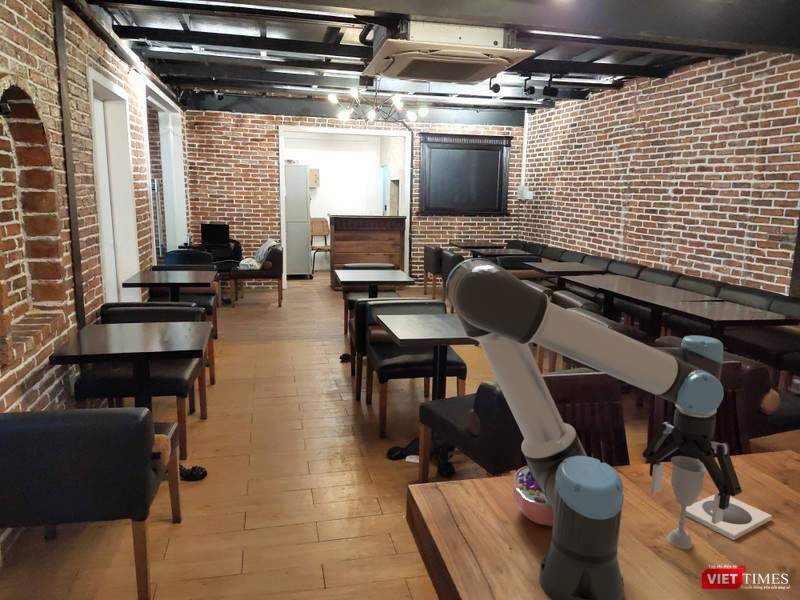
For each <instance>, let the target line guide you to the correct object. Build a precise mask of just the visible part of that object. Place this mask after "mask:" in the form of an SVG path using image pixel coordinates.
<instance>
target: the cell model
mask: <svg viewBox="0 0 800 600" xmlns="http://www.w3.org/2000/svg"><path fill="white" fill-rule="evenodd" d="M512 480H513V481H512V496H513V501H514V502H515V505H516V506H517V507H518V508H519V511H521V512H522V514H523V515H524V516H525V517H526V518H527V519H528V520H530V521H532V522H534V523H535V524H537V525H541V526H542V525H543V526H548V527H552V528H553V509H552V507H551V505H550V504H549V502H548V500H547V499H546V497H545V495H544V493H543V492H542V490H541V488H540V487H539V485H538V483H537V482H536V481H535V480H534V478H533V477H532V475H531V473H530V471H529V467H528V465H525V466H522V467H521V468H519V469H518V470H517V471H515V472H514V474H513V479H512Z"/></svg>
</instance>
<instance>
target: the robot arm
mask: <svg viewBox="0 0 800 600" xmlns="http://www.w3.org/2000/svg"><path fill="white" fill-rule="evenodd" d="M445 286H446V287H445V289H446V290H445V293H446V298H447V300H448V302H449V304H450V305H451V306H452V307H453V309H454V310H455V311H454V312H456V315H457V317H458V319H459V321H460V323H461V325H462V327H463V329H464V330H463V331H465V334H466V336H467V338H469V339H471V340H475V341H477V342H478V343H479V345H480V347H481V349H482V352H483V354H484V355H485V359H486V360H487V363H488V365H489V366H490V369H491V370H492V373H493V376H494V378H495V379H496V381H497V383H498V385H499V387H500V390H501V392H502V395H503V396H504V398H505V400H506V403H507V404H508V407H509V409H510V411H511V413H512V415H513V417H514V419H515V421H516V424H517V425H518V427H519V430H520V433H521V434H522V437H523V438H524V439H523V440H522V443H521V452H522V454H523V456H524V458H525V460H526V462H527V466H528V467H529V471H530V473H531V475H532V477H533V478H534V480H535V481H536V482H537V483H538V485H539V487H540V488H541V490H542V492H543V493H544V495H545V497H546V499H547V500H548V502H549V504H550V505H551V507H552V509H553V527H552V532H551V541H550V543H549V545H548V547H547V549H546V551H545V553H544V555H543V557H542V560H541V562H540V566H539V576H538V577H539V578H538V579H539V580H538V581H539V584H540V586H541V587H542V590H543V591H544V592H545V594H546V595H547V596H549V598H551V599H552V600H624V594H625V593H624V592H625V582H624V578H623V576H622V573H621V569H620V562H619V559H618V548H619V547H618V546H619V538H620V529H621V520H622V510H623V506H624V499H625V498H624V484H623V479H622V478H621V476H620V474H619V472H618V471H616V470H615V468H614V467H612V466H611V465H610V464H608V463H606V462H601V460H600V459H598V458H595V457H591V456H588V455H587V453H586V450H585V449H584V447H583V445H582V442H581V441H580V438H579V436H578V434H577V432H576V429H575V428H574V427H573V425H571V424H569V423H565V422H564V421H563V419H562V417H561V415H560V413H559V410H558V408H557V405H556V404H555V401H554V399H553V397H552V395H551V393H550V390H549V388H548V386H547V384H546V381H545V379H544V377H543V375H542V373H541V371H540V369H539V366H538V364H537V362H536V360H535V358H534V355H533V353H532V351H531V348H530V347H529V344H531V343H534V344H536V345H539V346H541V347H543V348H546V349H548V350H550V351H553V352H555V353H558V354H559V355H562V356H564V357H567V358H569V359H571V360H573V361H576V362H578V363H581V364H583V365H586V366H588V367H590V368H592V369H595V370H597V371H600V372H602V373H603V374H607V375H608V376H612V377H613V378H615V379H618V380H621V381H623V382H625V383H626V384H627V385H632V386H634V387H636V388H639V389H642V390H644V391H646V392H649V393H652V394H653V395H655V396H657V397H659V398H662V399H664V400H666V401H668V402H671V403H673V404H675V407H676V408H675V409H674V416H673V425H672V424H671V422H670V421H664V422H662V423H659V425H658V430H657V433H656V434H655V435H654V437H653V438H652V439H651V441H650V442H649V443H648V445H647V447H645V449H644V451H643V452H642V454H641V455H642V457H643V458H645V459H648V461H649V476H650V477H651V486H650V493H652V494H653V495H654V494H657V493H659V492H662V486H663V477H664V468H665V467H664V465H665V463H664V462H661V461H663V460H664V459H665V458H667V457H669V456H670V455H671V454H672V453H674V452H676V451H677V450H678V449H679V450H680V452H682V453H685V454H689V455H690V456H692V457H693V458H696V457H697V458H698V460H699V461H700V462H702V463H703V464H704V466H705V468H706V472H707V473H708V475H709V477H710V479H711V480H712V483H714V486H715V487H716V489H717V491H716V492H714V494H715V496H714V505H713V513H712V521H711V522H712V523H714V524H716V523H718V522H720V521H722V520H723V513H724V510H725V509H727V508H728V507H729V501H730V497H736V496H738V495H740V494H741V493H742V492H743V490H742V488H741V484H740V482H739V478H738V476H737V473H736V470H735V466H734V465H733V460H732V458H731V455H730V444H729V443H728V442H723V443H720V442H716V441H715V440H714V434H715V430H716V429H715V428H716V420H717V416H716V414H717V409H718V408H719V406H720V404H722V401H723V398H724V386H723V385H722V382H721V379H722V378H721V376H722V369H723V364H724V344H723V343H722V341H720V340H719V339H717V338H715V337H710V336H705V335H687V336H686V335H685V336H684V337H683V338H682V341H681V344H680V346H676V347H675V346H674V347H673V346H672V347H669V346H668V347H666V346H665V347H663V346H661V347H659V346H658V347H656V346H654V347H653V346H650V345H647V344H646V343H643V342H641V341H639V340H636V339H634V338H632V337H629V336H627V335H625V334H623V333H620V332H618V331H616V330H614V329H612V328H609V327H606V326H605V325H602V324H600V323H598V322H596V321H593V320H592V319H589V318H586V317H584V316H583V315H580V314H577V313H576V312H573V311H571V310H568V309H566V308H564V307H561V306H559V305H558V304H555V303H553V302H551V300H550V298H549V296H548V294H547V293H545V292H542V291H540V290H538V289H536V288H534V287H532V286H530V285H528V284H527V283H525V282H524V281H522V280H521V279H519V278H518V277H516V276H515V275H514V274H512V273H511V272H510V271H508V270H506V269H505V268H504V267H502V266H499V265H498V264H496V263H495V262H493V261H491V260H488V259H486V258H481V257H478V258H477V257H476V258H469V259H466V260H463V261H462V262H459V263H458V264H456V265H455V266H454V267H453V269H452V270H451V271H450V273H449V275H448V276H447V280H446V285H445ZM670 434H671V435H672V437H673V438H674V441H672V442H671V443H669V444H668V445H667V446H666V447H664V448H663V449H661V450H660V451H658V449H659V448H660V446H661V445H662V444H663V442H664V441H665V440H666V439H667V437H668V435H670ZM712 449H713V451H714V452H713V451H712ZM657 451H658V452H657ZM656 452H657V453H656ZM655 453H656V454H655ZM715 454H716V457H715ZM715 458H716V459H715ZM716 460H717V461H716Z"/></svg>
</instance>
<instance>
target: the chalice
mask: <svg viewBox="0 0 800 600" xmlns="http://www.w3.org/2000/svg"><path fill="white" fill-rule="evenodd" d="M670 461H671V464H672V470H671V471H672V472H671V479H670V483H671V487H672V492H673V494H674V497H675V500H676V502H677V503H678V504H679V505H681V508H680V510H679V511H678V513H679V518H677V522H678V524H679V526H678V527H675V528H673V529H672V530H671V531H670V532H669V535H667V536H666V540H667V543H669V544H670V545H671V546H673V547H675V548H678V549H682V550H690V549H692V548H693V546H694V544H693V543H692V539H691V535H690V533H689V532H688V531H687V530H685V524H687V520H686V517H687V516H686V515H687V513H686V507H687V506H691V505H692V504H694V503H695V502H696V500H697V499H698V498H699V496H700V494H701V493H702V491H703V487H704V480H705V479H704V477H705V473H706V472H707V470H706V468H705V466H704V464H703V463H702V462H700V460H699V459H696V458H695V457H690V456H684V455H676V456H672V457H671V458H670Z"/></svg>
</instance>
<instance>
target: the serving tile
mask: <svg viewBox="0 0 800 600" xmlns="http://www.w3.org/2000/svg"><path fill="white" fill-rule="evenodd" d="M714 496H715V493H714V494H712V495H710V496H708V497H704V498H703V499H701V500H699V501H695V502H694V503H693V504H692V505H691V506H687V507H686V513H687V515H686V516H685V517H688V518H690V519H691V520H693V521H696V522H697V523H699V524H701V525H703V526H705V527H707V528H708V529H711V530H713V531H715V532H717V533H719V534H720V535H723V536H724V537H726V538H728V539H730V540H732V541H735V540H736V539H739V538H740V537H742V536H744V535H746V534H748V533H750V532H751V531H753V530H755V529H757V528H759V527H761V526H762V525H763V526H764V525H765V524H767V523H768V522H770V521H772V516H773V515H772V514H769V513H768V512H765V511H763V510H761V509H759V508H757V507H754V506H753V505H750V504H747V503H746V502H743V501H741V500H739V499H736V498H734V497H733V496H730V501H729V507H728V508H727V509H725V510H724V513H723V520H722V521H720V522H718V523H716V524H714V523H712V522H711V521H712V513H713V505H714Z"/></svg>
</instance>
